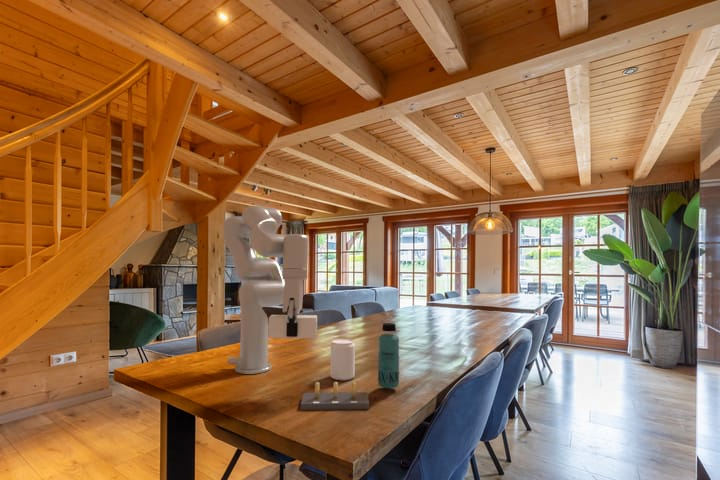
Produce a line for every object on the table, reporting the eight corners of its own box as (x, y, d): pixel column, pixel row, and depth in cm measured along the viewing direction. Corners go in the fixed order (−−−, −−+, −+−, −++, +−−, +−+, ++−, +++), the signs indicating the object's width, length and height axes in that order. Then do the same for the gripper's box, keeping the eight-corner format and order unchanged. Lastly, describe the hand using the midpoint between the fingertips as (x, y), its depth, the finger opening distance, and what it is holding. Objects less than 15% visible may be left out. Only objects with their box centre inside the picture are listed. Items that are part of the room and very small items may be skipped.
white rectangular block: (268, 337, 105) (268, 317, 105) (271, 334, 110) (272, 314, 110) (315, 338, 105) (316, 318, 106) (316, 334, 110) (317, 315, 111)
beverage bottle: (376, 386, 111) (376, 321, 112) (397, 385, 111) (397, 321, 112) (379, 394, 104) (379, 325, 105) (401, 393, 105) (401, 325, 106)
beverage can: (357, 375, 121) (358, 339, 122) (349, 382, 114) (349, 344, 114) (336, 372, 124) (336, 337, 125) (326, 379, 116) (327, 342, 117)
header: (300, 409, 92) (300, 388, 93) (303, 398, 100) (304, 378, 101) (369, 408, 93) (369, 387, 94) (367, 397, 101) (367, 377, 102)
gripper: (286, 273, 117) (285, 328, 116) (277, 275, 100) (275, 340, 99) (309, 273, 117) (308, 328, 116) (304, 275, 100) (302, 341, 99)
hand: (293, 333), depth 107 cm, fingers closed on white rectangular block, 5 cm apart
